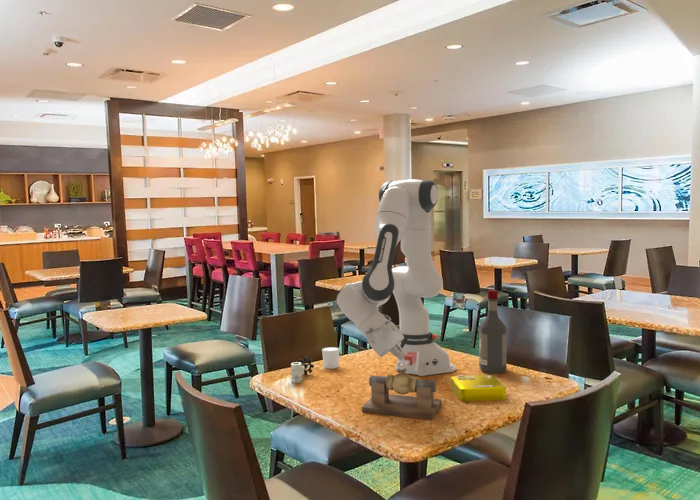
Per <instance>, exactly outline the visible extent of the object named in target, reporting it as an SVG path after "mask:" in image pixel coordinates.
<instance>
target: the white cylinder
mask: <svg viewBox="0 0 700 500" xmlns="http://www.w3.org/2000/svg"><path fill="white" fill-rule="evenodd" d="M340 350H341V349H340V348H339V347H335V346H329V347H323V348H322V349H321V353H322V363H323V368H324V369H330V370H331V369H337V368H338V367H339V360H340Z"/></svg>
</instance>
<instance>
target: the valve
mask: <svg viewBox="0 0 700 500" xmlns="http://www.w3.org/2000/svg"><path fill="white" fill-rule="evenodd" d="M304 362H306V363H304ZM312 362H313V359H311V358H310V359H309V360H308V356H304V357H303V359H302V358H299V359H298V361H296V362H291V364H290V369H291V370H290V376H291V379H290V381H291V383H293V384H299V383H302V382H303V375H305V376H306V375H308V372H309V374H312V373H313V370H312V369H314V367H315V365H314V364H312Z"/></svg>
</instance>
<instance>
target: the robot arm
mask: <svg viewBox="0 0 700 500" xmlns="http://www.w3.org/2000/svg"><path fill="white" fill-rule="evenodd" d="M378 201H379V204H378V208H377V212H376V215H375V220H374V221H375V222H374V235H375V236H376V247H375V251H374V256H373V260H372V264H371V266H370V267H369V269H368V270H367V272H366V273H365V274H364V276H363V278H362V280H359V281H357V282H348V283H346V284H344V285H343V286H342V287H341V289H340V290H339V292H338V293H337V295H336V305H337V306H338V307H339V308H340V310H341V312H343V314H344V315H345V316H346V317H347V318H348V320H349V321H351V322H353V324H355V326H356V328H357V330H358V331H359V332H360V333H361V334H362V335H363V336H364V337H365V338H366V341H367V343H368V344H369V347H371V348H372V350H373V351H374V352H375V353H376V354H377V355H378V356H379V357H380V358H383V357H385V355H387V354H388V353H390V354H391V355H393V356H394V357H396V358H397V362H396V366H395V370H396V371H397V364H398V363H402V362H404V361H405V355H406V354H407V353H408V352H417V361H416V362H415V363H414V364H413V365H408V366H407V371H405V373H406V374H408V375H416V376H421V377H424V376H431V375H438V374H447V373H452V372H453V373H454V372H456V369H457V368H456V366H455V364H454V363H452V362H451V361H450V357H449V354H448V352H447V351H446V350H445V349H444V348H443V347H441V346H440V345H438V344H437V343H436V342H434V341H437V340H438V339H439V336H438V335H437V334H436V333H432V332H430V314H429V311H428V308H426V306H425V305H424V303H423V301H422V299H421V298H424V299H425V298H433V297H436V296H438V295H439V294H440V293H441V292H442V289H443V286H444V280H443V277H442V275H441V273H440V272H439V271H438V270H437V269H436V266H435V263H434V260H433V257H432V249H431V247H432V246H431V245H432V244H431V240H432V239H431V238H432V237H431V235H432V218H431V217H432V216H431V211H432V210H433V208H435V206H436V205H437V204H438V201H439V188H438V185H437V184H436V182H434V181H433V180H429V179H412V178H411V179H400V180H395V181H394V180H389V181H385V182H383V184H381V186H380V187H379V191H378ZM399 242H400V251H401V252H402V254H403V255H404V256H405V258H406V261H407V265H408V266H407V265H400V266H396V267H393V265H394V258H395V253H396V248H397V246H398V244H399ZM392 294H393V296H394V298H395V299H394V300H395V301H396V305H397V309H398V317H399V320H398V321H399V327H398V326H396V324H395V323H394V322H392V321H391V320H392V319H391V317H390V316H389V315H387V314H383V313H381V312H380V311H379V310H378V309H377V308H379V307H380V306H382V305H385V304H386V303H387V302H388V301H389V299H390V298H391V296H392Z"/></svg>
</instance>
